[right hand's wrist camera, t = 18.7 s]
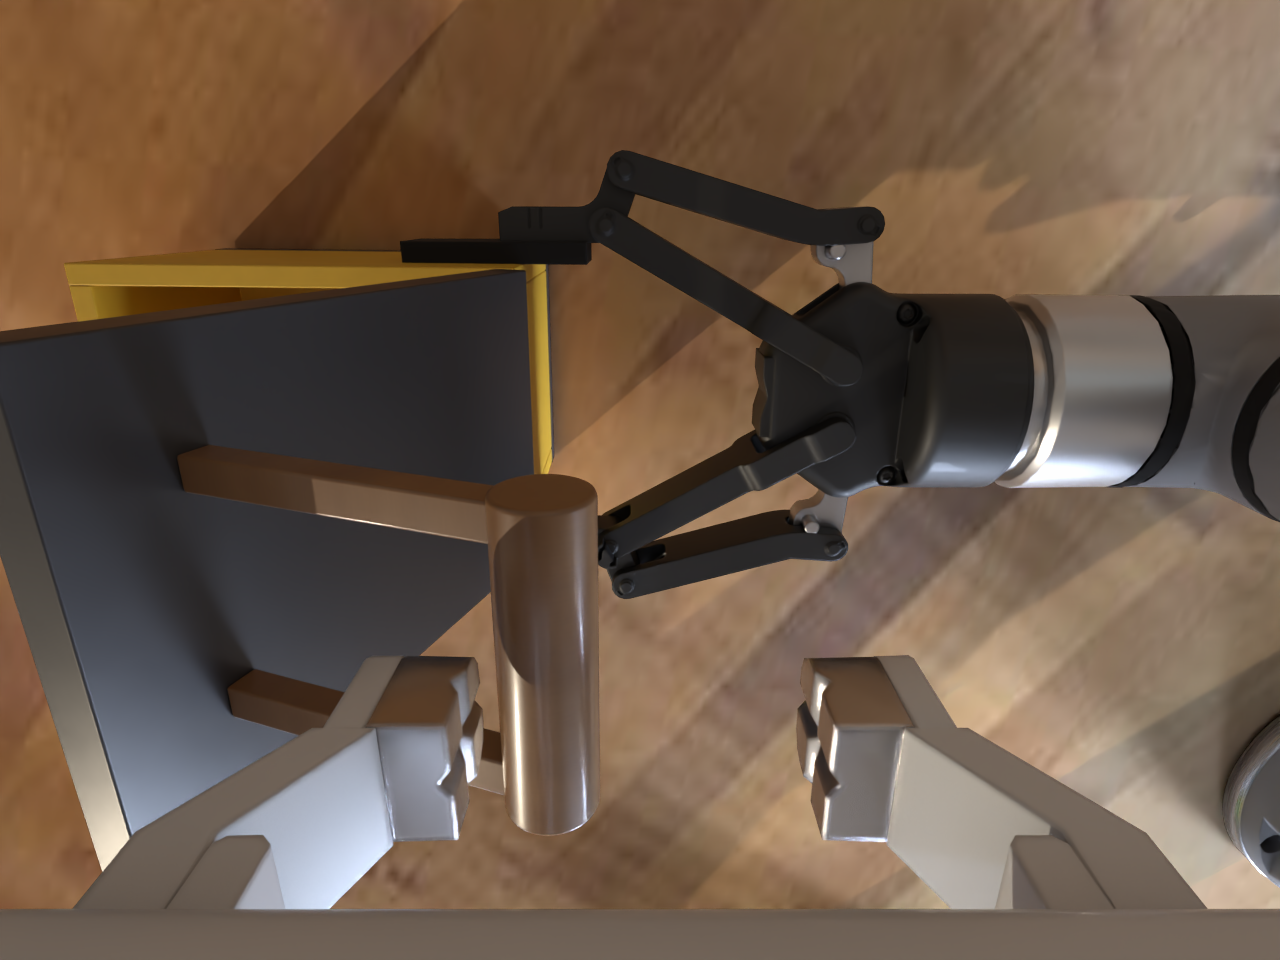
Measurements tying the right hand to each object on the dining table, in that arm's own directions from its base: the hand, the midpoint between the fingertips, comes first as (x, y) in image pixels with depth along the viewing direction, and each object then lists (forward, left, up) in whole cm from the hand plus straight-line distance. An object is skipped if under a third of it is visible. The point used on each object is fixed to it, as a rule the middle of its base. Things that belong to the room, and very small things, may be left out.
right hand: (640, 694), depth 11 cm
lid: (+3, +7, -8) cm, 11 cm away
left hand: (+4, +8, -19) cm, 21 cm away
